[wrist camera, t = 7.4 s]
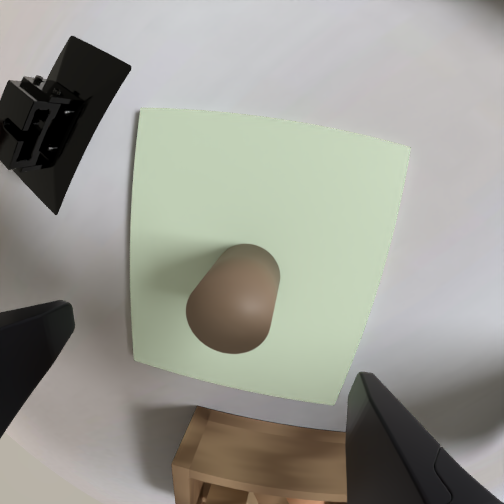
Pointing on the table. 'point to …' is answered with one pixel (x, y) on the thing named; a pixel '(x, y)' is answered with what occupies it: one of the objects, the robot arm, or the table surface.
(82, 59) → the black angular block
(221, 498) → the beech block
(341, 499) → the walnut box
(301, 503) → the terracotta ball
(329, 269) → the lid
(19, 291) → the table surface
